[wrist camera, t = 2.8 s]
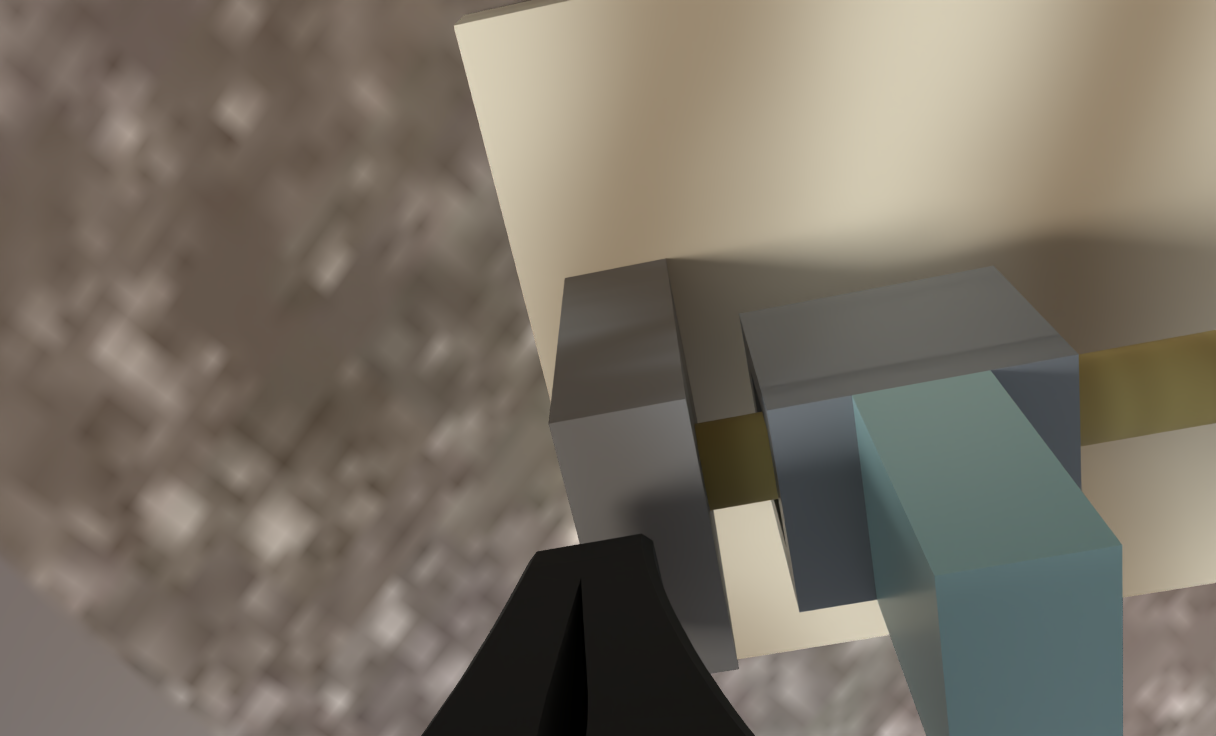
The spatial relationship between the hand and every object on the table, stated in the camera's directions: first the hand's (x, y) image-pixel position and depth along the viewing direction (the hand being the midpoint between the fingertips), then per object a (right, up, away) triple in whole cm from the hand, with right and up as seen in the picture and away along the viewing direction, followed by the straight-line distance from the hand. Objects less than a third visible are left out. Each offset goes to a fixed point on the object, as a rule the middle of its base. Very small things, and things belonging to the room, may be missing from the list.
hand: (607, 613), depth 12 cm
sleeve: (+4, +3, +3) cm, 6 cm away
